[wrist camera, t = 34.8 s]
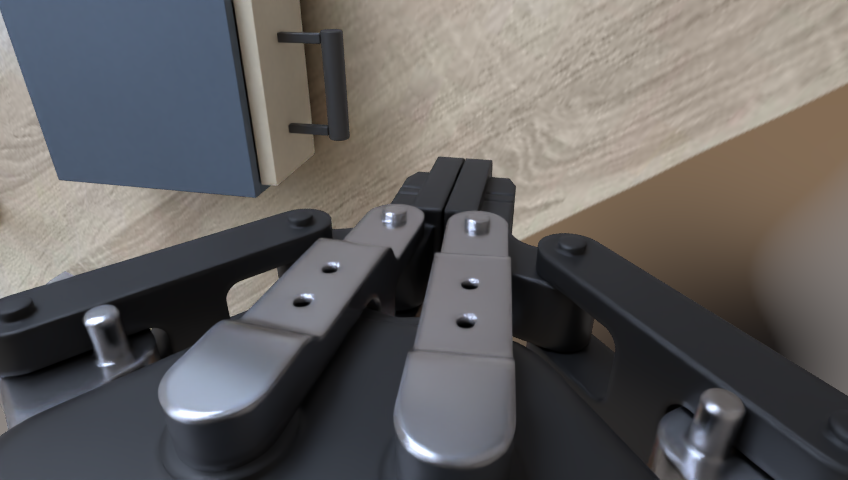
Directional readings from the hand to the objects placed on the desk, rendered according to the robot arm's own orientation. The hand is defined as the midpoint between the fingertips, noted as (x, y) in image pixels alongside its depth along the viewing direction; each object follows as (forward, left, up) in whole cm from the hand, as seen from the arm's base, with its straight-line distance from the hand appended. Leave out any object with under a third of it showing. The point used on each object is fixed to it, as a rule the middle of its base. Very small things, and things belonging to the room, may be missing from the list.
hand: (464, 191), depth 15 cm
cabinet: (+2, -24, -25) cm, 35 cm away
